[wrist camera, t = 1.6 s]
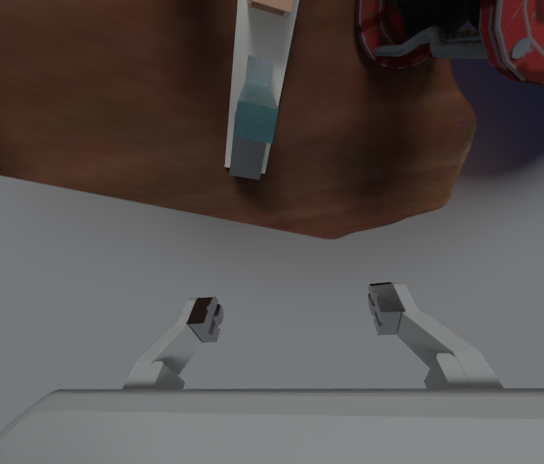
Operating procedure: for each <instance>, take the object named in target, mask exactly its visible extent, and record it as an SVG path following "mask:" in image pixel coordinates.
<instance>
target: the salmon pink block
mask: <svg viewBox="0 0 544 464" xmlns="http://www.w3.org/2000/svg"><path fill="white" fill-rule="evenodd" d="M246 2H247V6H248V7H251V8H255V9H258V10H261V11H265V12H268V13H271V14H275V15H278V16H281V17H285V18H287V16H288V15H289V14H290V13H291V10H292V4H293V0H246Z"/></svg>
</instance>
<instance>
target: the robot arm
mask: <svg viewBox="0 0 544 464" xmlns="http://www.w3.org/2000/svg"><path fill="white" fill-rule="evenodd" d="M369 292H370V293H369V294H368V304H369V308H370V311H371V313H372V315H374V324H375V327H376V330H377V332H378V335H385V334H386V335H391V334H397V336H398V337H399V338H400V339H401V340H402V341H403V342H404V343H405V344H406V345H407V346H409V347H410V349H411V350H412V351H413V352H414V353H416V354H417V356H418V357H419V358H420V359H421V360H422V361H423V362H425V364H426V365H427V366H428V367H429V368H430V370H429V372H428V375H427V377H426V379H425V381H424V382H425V384H426V387H427V389H183V387H184V384H185V383H184V381H183V380H182V379H181V378H180V377H179V376H178V375H179V373H180V372H181V371H182V369H183V368H184V367H185V365H186V364H187V363H188V362H189V361H190V359H191V358H192V357H193V355H194V354H195V353H196V351H197V350H198V349H199V347H200V346H201V345H202V343H203V342H217V338H218V335H219V331H220V329H219V327H218V326H219V325H220V324H221V323H222V320H223V309H222V307H221V305H219V304H217V303H218V300H217V298H216V297H208V298H193V299H189V300H188V301H187V303H186V305H185V308H184V310H183V312H182V315H181V317H180V319H179V321H178V323H177V325H175V326H173V327H172V328H171V329H170V330H169V331H168V332H167V333H166V334H165V335H164V336H163V337H162V338H161V339H160V340H158V341H157V342H156V343H155V344H154V345H153V346H152V347H151V348H150V349H149V350H148V351H147V352H146V353H145V354H144V355H143V356H141V357H140V358H139V359H138V360H137V361H136V363H135V365H134V367H133V369H132V371H131V373H130V375H129V377H128V379H127V381H126V382H125V384H124V386H123V388H122V389H59V390H55V391H52V392H50V393H49V394H47V395H46V396H44V397H43V398H41V399H40V400H39V401H37V402H36V403H35V404H33V405H32V406H31V407H29V408H28V409H27V410H26V411H25V412H23V413H22V414H21V415H19V416H18V417H17V418H15V419H14V420H13V421H12V422H11V423H9V424H8V425H7V426H6V427H5V428H4V429H3V430H2V431H1V432H0V464H544V388H533V389H532V388H527V389H526V388H522V389H521V388H518V389H517V388H512V389H510V388H507V389H505V388H503V386H502V385H501V383H500V382H499V380H498V379H497V377H496V376H495V374H494V373H493V371H492V370H491V368H490V367H489V365H488V364H487V362H486V360H485V359H484V357H483V356H482V354H481V353H480V351H478V350H477V349H475V348H474V347H472V346H471V345H470V344H468V343H467V342H465V341H464V340H462V339H461V338H460V337H458V336H457V335H456V334H454V333H453V332H451V331H450V330H449V329H447V328H445V327H444V326H443V325H442V324H440V323H439V322H437V321H436V320H435V319H433V318H432V317H430V316H429V315H427V314H426V313H425V312H423V311H419V310H418V308H417V306H416V304H415V302H414V301H413V299H412V297H411V295H410V293H409V291H408V289H407V287H406V286H405V284H404V283H403V282H387V283H376V284H369Z"/></svg>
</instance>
